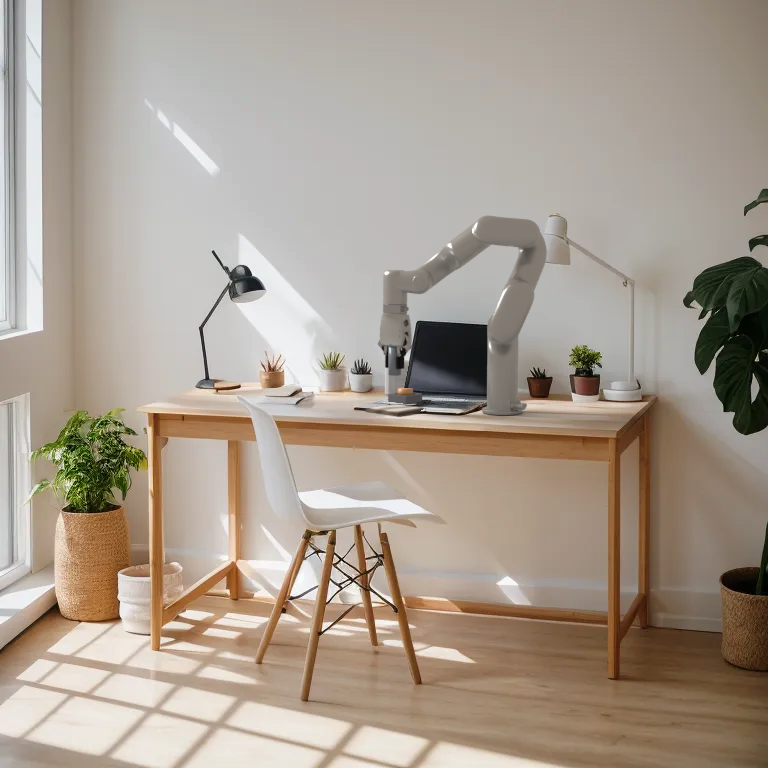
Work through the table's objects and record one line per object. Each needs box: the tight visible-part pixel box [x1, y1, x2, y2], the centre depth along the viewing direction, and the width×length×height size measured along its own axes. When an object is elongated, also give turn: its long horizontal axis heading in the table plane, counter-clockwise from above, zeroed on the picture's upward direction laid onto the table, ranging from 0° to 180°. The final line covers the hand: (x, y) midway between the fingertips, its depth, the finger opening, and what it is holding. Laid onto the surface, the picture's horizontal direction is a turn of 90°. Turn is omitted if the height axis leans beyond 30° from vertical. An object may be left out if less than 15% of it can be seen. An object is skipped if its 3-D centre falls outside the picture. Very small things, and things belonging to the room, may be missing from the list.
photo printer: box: [384, 359, 410, 396], centre depth 352 cm, size 10×4×12 cm, turn 109°
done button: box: [398, 387, 414, 396], centre depth 328 cm, size 5×5×2 cm
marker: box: [388, 344, 401, 376], centre depth 312 cm, size 4×4×11 cm
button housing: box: [387, 392, 423, 404], centre depth 329 cm, size 8×8×4 cm
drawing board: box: [365, 404, 427, 417], centre depth 314 cm, size 14×13×1 cm
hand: (394, 367), depth 312 cm, fingers closed on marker, 4 cm apart
